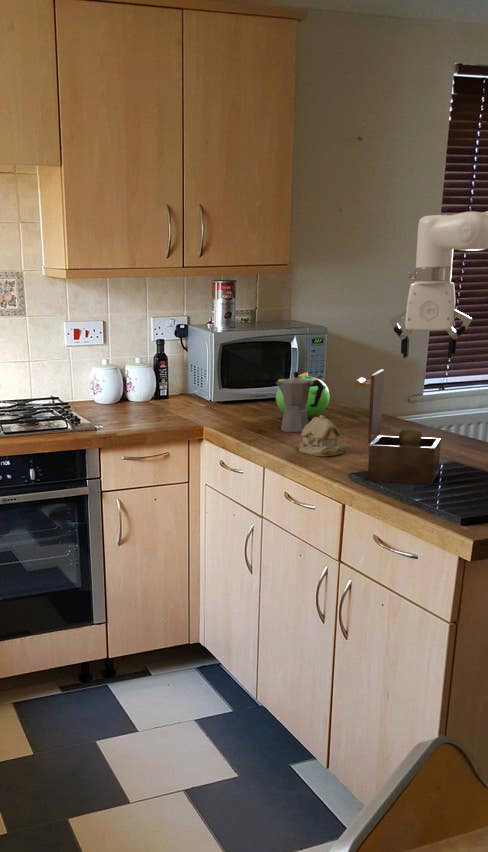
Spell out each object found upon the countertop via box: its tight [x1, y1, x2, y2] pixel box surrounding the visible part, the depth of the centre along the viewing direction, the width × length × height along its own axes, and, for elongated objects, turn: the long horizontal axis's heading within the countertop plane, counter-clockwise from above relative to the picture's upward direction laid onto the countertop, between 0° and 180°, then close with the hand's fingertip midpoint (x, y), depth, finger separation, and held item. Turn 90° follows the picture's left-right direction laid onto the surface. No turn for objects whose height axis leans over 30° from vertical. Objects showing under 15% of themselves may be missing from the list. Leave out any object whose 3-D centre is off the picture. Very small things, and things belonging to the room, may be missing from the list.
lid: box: [352, 368, 385, 444], centre depth 206 cm, size 15×13×5 cm
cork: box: [398, 428, 423, 447], centre depth 205 cm, size 6×6×11 cm
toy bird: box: [275, 372, 331, 419], centre depth 295 cm, size 18×17×15 cm
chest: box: [367, 435, 442, 486], centre depth 206 cm, size 15×13×9 cm
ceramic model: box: [298, 414, 344, 457], centre depth 239 cm, size 14×11×10 cm
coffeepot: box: [275, 371, 324, 433], centre depth 272 cm, size 15×9×18 cm, turn 63°
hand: (427, 357), depth 195 cm, fingers open, 9 cm apart
